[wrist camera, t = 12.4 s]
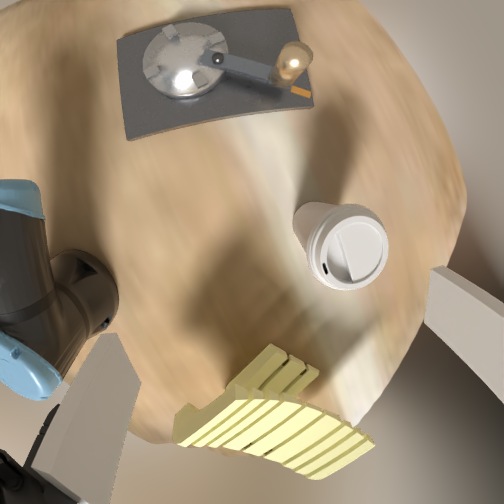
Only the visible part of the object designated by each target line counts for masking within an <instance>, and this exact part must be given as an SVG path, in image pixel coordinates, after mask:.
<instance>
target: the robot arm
mask: <svg viewBox="0 0 504 504" xmlns="http://www.w3.org/2000/svg"><path fill="white" fill-rule="evenodd" d="M44 220H45V216H44V215H43V210H42V203H41V194H40V190H39V188H38V186H37V185H36V184H35V183H34V182H32V181H30V180H24V179H0V380H1V381H2V382H3V383H4V384H5V385H7V386H8V387H9V388H10V389H12V390H13V391H15V392H16V393H18V394H20V395H22V396H24V397H26V398H29V399H32V400H37V401H41V400H46V399H48V398H49V397H50V396H51V395H52V394H53V392H54V391H55V389H56V388H57V386H59V385H60V384H61V383H62V381H63V378H64V377H65V375H66V373H67V372H68V370H69V368H70V366H71V365H72V363H73V361H74V360H75V358H76V356H77V355H78V353H79V352H80V350H81V348H82V347H83V345H84V343H85V342H86V340H88V339H90V338H91V337H93V336H95V335H97V334H99V333H100V332H102V331H104V330H105V329H106V328H107V327H108V326H109V325H110V324H111V322H112V320H113V319H114V317H115V315H116V313H117V310H118V304H119V299H118V292H117V288H116V285H115V282H114V280H113V278H112V276H111V275H110V273H109V271H108V270H107V269H106V268H105V266H104V265H103V264H102V263H101V262H100V261H99V260H97V259H96V258H95V257H93V256H92V255H90V254H88V253H86V252H83V251H80V250H67V251H64V252H61V253H60V254H58V255H57V256H55V257H54V258H52V259H51V260H50V257H49V251H48V245H47V238H46V231H45V222H44ZM424 323H425V324H426V325H427V326H428V327H429V328H431V329H432V330H433V331H434V332H435V333H436V334H437V335H438V336H439V337H440V338H441V339H442V340H443V341H444V342H445V343H446V344H447V345H448V346H449V347H450V348H451V349H452V350H453V351H455V353H456V354H457V355H458V356H459V357H460V358H461V359H462V360H464V362H465V363H466V364H467V365H468V366H469V367H470V368H471V369H472V370H473V371H474V372H475V373H476V374H477V375H478V376H479V377H480V378H481V379H482V380H483V381H484V382H485V384H486V385H487V386H488V387H489V388H490V389H491V390H492V391H493V392H494V393H495V394H496V395H497V397H498V398H499V399H500V400H501V401H502V402H503V403H504V303H502V302H501V301H499V300H498V299H496V298H495V297H493V296H491V295H490V294H489V293H487V292H486V291H484V290H483V289H481V288H479V287H478V286H476V285H474V284H473V283H471V282H470V281H468V280H467V279H465V278H463V277H462V276H460V275H458V274H457V273H455V272H453V271H452V270H450V269H448V268H447V267H445V266H443V265H442V266H439V267H436V268H433V269H431V274H430V283H429V292H428V299H427V306H426V313H425V319H424ZM140 386H141V381H140V379H139V377H138V375H137V373H136V372H135V370H134V368H133V366H132V364H131V362H130V360H129V358H128V356H127V354H126V352H125V350H124V348H123V346H122V343H121V341H120V339H119V337H118V335H117V333H107V334H101V335H100V337H99V338H98V340H97V341H96V343H95V345H94V346H93V348H92V350H91V351H90V353H89V355H88V356H87V358H86V360H85V361H84V363H83V365H82V366H81V368H80V370H79V372H78V373H77V375H76V377H75V379H74V380H73V382H72V384H71V386H70V388H69V389H68V391H67V393H66V395H65V397H64V399H63V400H62V402H61V404H57V405H56V406H55V407H54V408H53V409H52V410H51V411H50V413H49V414H48V416H47V418H46V420H45V422H44V423H43V424H44V426H42V427H41V429H40V432H39V435H37V438H36V440H35V442H34V444H33V446H32V448H31V450H30V452H29V455H28V457H27V459H26V461H25V464H24V466H23V467H21V466H20V465H19V464H18V463H17V462H16V461H15V460H14V459H13V458H12V457H11V456H10V455H9V454H7V452H6V451H5V450H1V449H0V504H77V503H79V504H110V500H111V495H112V490H113V486H114V481H115V477H116V472H117V469H118V464H119V460H120V456H121V452H122V449H123V445H124V441H125V437H126V434H127V430H128V426H129V423H130V419H131V416H132V412H133V409H134V406H135V402H136V399H137V396H138V392H139V389H140Z"/></svg>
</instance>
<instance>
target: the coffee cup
mask: <svg viewBox="0 0 504 504" xmlns="http://www.w3.org/2000/svg"><path fill="white" fill-rule="evenodd" d="M293 229H294V232H295V234H296V236H297V238H298V240H299V241H300V243H301V245H302V247H303V248H304V250H305V252H306V256H307V262H308V266H309V268H310V270H311V272H312V274H313V275H314V277H315V278H316V279H317V280H318V281H319V282H321V283H322V284H324V285H326V286H328V287H330V288H333V289H338V290H354V289H358V288H361V287H364V286H366V285H368V284H369V283H371V282H372V281H373V280H374V279H375V278H376V277H377V276H378V275H379V274H380V272H381V271H382V269H383V267H384V265H385V263H386V260H387V257H388V250H389V244H388V238H387V235H386V231H385V228H384V226H383V224H382V222H381V221H380V219H379V218H378V217H377V215H376V214H375V213H374V212H372V211H371V210H370V209H368V208H366V207H364V206H362V205H358V204H344V205H340V206H339V205H334V204H328V203H323V202H316V201H312V202H308V203H305V204H303V205H302V206H301V207H300V208H299V209H298V210H297V211H296V213H295V215H294V218H293Z"/></svg>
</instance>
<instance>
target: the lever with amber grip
mask: <svg viewBox="0 0 504 504" xmlns="http://www.w3.org/2000/svg"><path fill="white" fill-rule="evenodd" d="M162 30H163V31H162V32H161V33H159V34H158V35H157V36H156V37H155V38H154V39H153V40H152V41H151V42H150V44H149V45H148V47H147V48H146V50H145V53H144V57H143V70H144V71H143V72H144V74H145V76H146V78H147V79H148V81H149V82H150V83H151V84H152V85H153V86H154V87H155V88H156V89H157V90H158V91H159V92H161V93H162V94H164V95H166V96H168V97H172V98H177V99H188V98H194V97H197V96H200V95H203V94H205V93H207V92H208V91H210V90H211V89H213V88H214V87H215V86H216V85H217V84H218V83H219V82H220V81H221V80H222V78H223V77H224V75H225V73H226V71H227V72H231V73H235V74H238V75H242V76H246V77H249V78H253V79H256V80H259V81H263V82H266V83H269V84H272V85H275V86H277V87H279V88H284V89H287V90H290V89H291V88H292V85H293V82H294V81H295V80H296V79H297V78H298V77H299V76H300V74H301V73H302V72H303V71H304V70H305V69H306V68H307V67H308V65H309V64H310V63H311V62H312V60H313V53H312V50H311V49H310V48H309V46H307V45H306V44H304V43H302V42H299V41H292V42H289V43H287V44H285V46H284V47H283V49H282V51H281V53H280V55H279V56H278V58H277V60H276V62H275V64H274V66H273V67H272V66H269V65H266V64H262V63H259V62H256V61H252V60H249V59H245V58H241V57H237V56H234V55H229V54H228V46H227V43H226V41H225V38H224V36H223V35H222V33H221V32H218V31H217V30H216V29H214V28H213V27H211V26H208V25H206V24H202V23H195V22H188V23H181V24H177V25H174V26H173V25H172V24H170V25H168V26H166V27H164V28H162Z"/></svg>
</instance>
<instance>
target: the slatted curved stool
mask: <svg viewBox="0 0 504 504" xmlns="http://www.w3.org/2000/svg"><path fill="white" fill-rule="evenodd" d="M319 371H320V370H318V369H316V368H314V367H312V366H310V365H308V364H306V365H305V364H304V362H303V361H301V360H299V359H298V358H296V357H294V356H292V355H290V354H289V355H288V356H287V354H286V352H285V351H283V350H282V349H280V348H278V347H276V346H275V345H273V344H271V343H270V344H269V345H268V346H267V347H266V348H265V349H264V350H263V351H262V352H261V353H260V354H259V355H258V356H257V357H256V358H255V359H254V360H253V361H252V362H251V363H250V364H248V365H247V366H246V367H245V368H244V369H243V370H242V371H241V372H240V373H239V374H238V375H237V376H236V377H235V378H234V379H233V380H232V381H230V382H229V383H228V385H227V386H226V389H225V392H224V393H223V394H222V395H221V396H219V397H218V398H217V399H216V400H214V401H213V402H212V403H210V404H209V405H208V406H206V407H204V408H203V409H201V410H199V409H198V408H196V407H194V406H193V405H191V404H190V403H187V404H186V405H185V406H184V407H183V408H182V409H181V410H180V411H179V412H178V413H176V414H175V419H174V426H173V434H172V437H173V441H174V443H176V444H178V445H181V446H183V447H187V446H188V445H189V444H192V445H194V446H197V447H202V446H203V445H205V444H206V445H207V446H210V447H215V448H216V447H218V446H219V445H221V446H223V447H226V448H230V449H234V450H240V449H241V450H242V451H243V452H246V453H250V454H253V455H257V456H260V455H262V456H263V458H267V459H270V460H273V461H276V462H280V463H281V464H282V465H283V466H285V467H288V468H292V470H293V471H294V472H296V473H300V474H303V475H304V476H305V477H307V478H309V479H317V480H318V479H323V478H325V477H327V476H328V475H330V474H332V473H334V472H336V471H337V470H339V469H340V468H342V467H344V466H345V465H347V464H349V463H350V462H352V461H353V460H355V459H356V458H358V457H360V456H361V455H363V454H364V453H366V452H367V451H369V450H370V449H371V448H373V447H374V446H375V444H374V442H373V440H372V438H371V436H370V435H369V434H366V433H365V434H363V433H362V431H361V429H359V428H356V427H354V428H352V426H351V423H350V422H348V421H345V420H343V421H341V419H340V417H339V415H337V414H335V413H332V412H329V411H327V410H324V411H323V412H322V409H321V408H319V407H317V406H314V405H312V404H309V403H307V402H304V403H303V404H302V402H301V400H300V399H297V398H295V396H297V395H298V394H299V393H300V392H301V391H302V390H303V389H304V388H305V387H306V386H307V385H309V384H310V383H311V382H312V381H313V380H314V379H315V378H316V377H317V376H319Z"/></svg>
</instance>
